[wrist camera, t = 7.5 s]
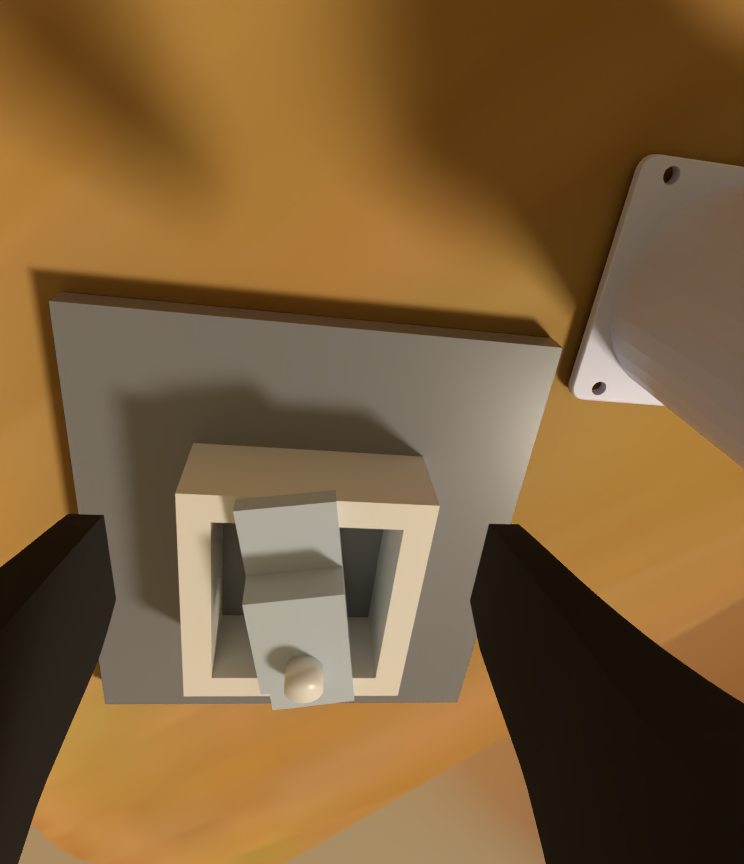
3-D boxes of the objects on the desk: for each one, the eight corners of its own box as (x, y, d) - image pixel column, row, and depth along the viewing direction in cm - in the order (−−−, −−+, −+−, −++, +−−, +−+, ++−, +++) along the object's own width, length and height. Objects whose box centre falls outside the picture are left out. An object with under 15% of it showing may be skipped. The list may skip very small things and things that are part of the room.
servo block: (332, 441, 20) (339, 546, 15) (348, 625, 24) (358, 753, 19) (245, 448, 20) (224, 557, 15) (277, 632, 24) (269, 764, 19)
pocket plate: (551, 337, 20) (603, 384, 16) (452, 684, 28) (472, 764, 25) (61, 291, 18) (-1, 334, 14) (111, 684, 26) (81, 772, 22)
